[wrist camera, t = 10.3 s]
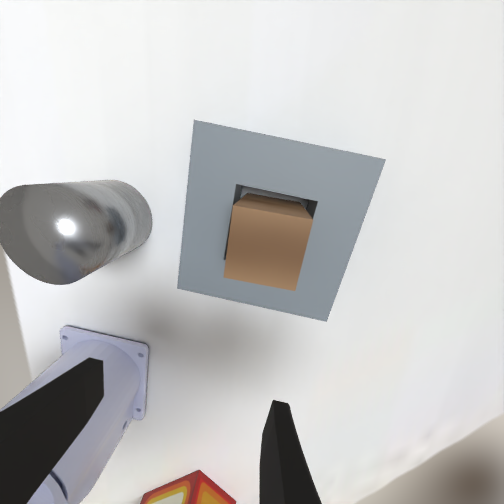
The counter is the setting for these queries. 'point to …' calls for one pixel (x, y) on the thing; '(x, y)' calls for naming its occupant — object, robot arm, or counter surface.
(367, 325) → the counter surface
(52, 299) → the counter surface
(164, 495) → the baking soda box
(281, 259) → the square peg
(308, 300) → the socket block
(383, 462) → the counter surface
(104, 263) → the round peg
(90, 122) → the counter surface
